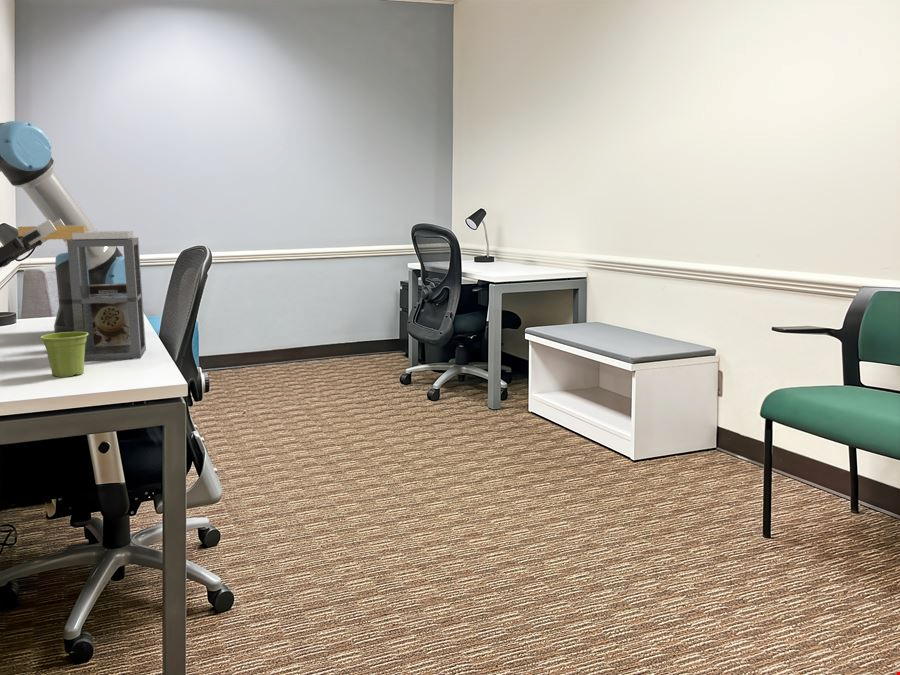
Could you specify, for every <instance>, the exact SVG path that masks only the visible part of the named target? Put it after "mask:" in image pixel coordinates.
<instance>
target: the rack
mask: <svg viewBox="0 0 900 675" xmlns="http://www.w3.org/2000/svg"><path fill="white" fill-rule="evenodd" d="M139 244H140V242H139V237H132V238H128V239H75V240H68V241H66V243H65V247H67V252H68V259H69V271H70V283H71V295H72V307H73V320H74V332H87V333H88V336H87V339H86V343H85V356H84V362H93V361H95V362H97V361H108V360H111V361H113V360H114V361H116V360H131V359H130V358H136V359H141V358H142V357H143V355H144V354H145V352H146V350H147V346H146V331H145V317H144V316H145V314H144V301H143V300H144V299H143V287H142V270H141V259H140V245H139ZM106 246H116V247H123V256H124V260H125V274H126V288H127V293H106V294H90V285H89V273H88V260H87V247H106ZM113 302H128V316H129V330H130V344H131V345H113V346H94V336H93V323H92V311H91V303H113ZM128 358H129V359H128ZM115 359H116V360H115Z"/></svg>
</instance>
